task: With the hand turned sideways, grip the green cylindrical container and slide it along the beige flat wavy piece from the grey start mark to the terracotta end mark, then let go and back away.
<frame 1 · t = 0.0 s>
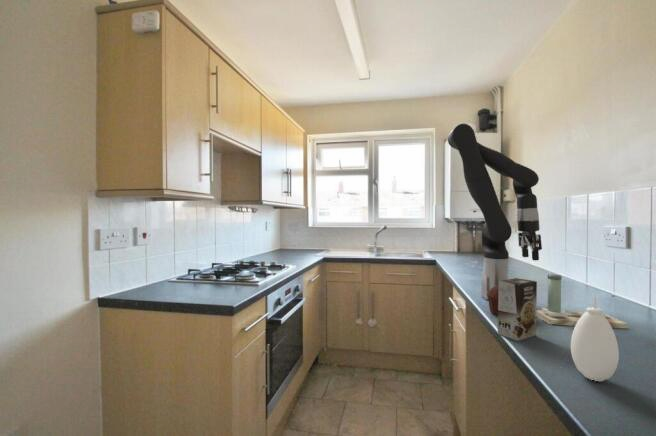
hand: (530, 258, 126), 17 cm above the countertop, tool pointing down, fingers open, 8 cm apart
coffee box: (517, 335, 91), on the countertop
beige flat wavy piece: (577, 320, 102), on the countertop
muffin: (504, 315, 109), on the countertop
green cylindrical container: (554, 294, 103), point 8 cm above the countertop, slide at -7.0 cm
sauce bottle: (593, 380, 66), on the countertop
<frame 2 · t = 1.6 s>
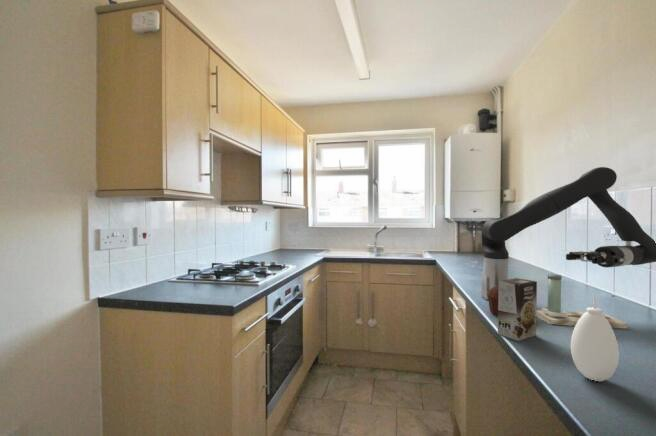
hand: (579, 258, 106), 20 cm above the countertop, tool horizontal, fingers open, 8 cm apart
nothing on the countertop moved.
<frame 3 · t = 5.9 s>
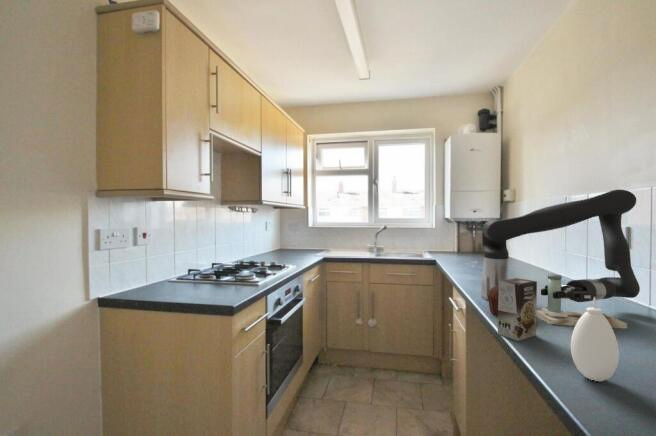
hand: (548, 293, 102), 9 cm above the countertop, tool horizontal, fingers closed on green cylindrical container, 3 cm apart
green cylindrical container: (554, 294, 103), point 9 cm above the countertop, slide at -7.0 cm, touching gripper
everything else where it was.
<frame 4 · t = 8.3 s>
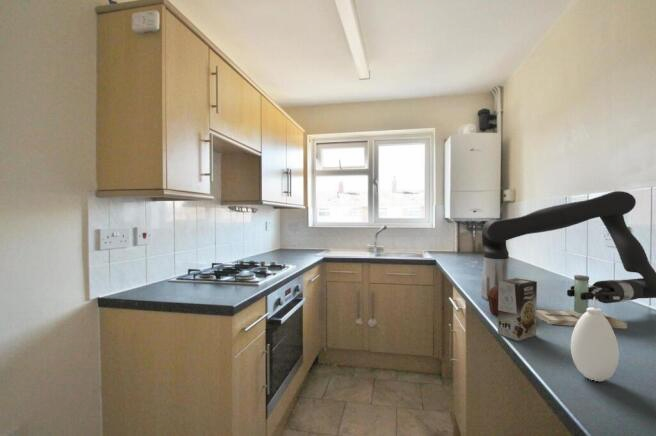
hand: (575, 294, 101), 9 cm above the countertop, tool horizontal, fingers closed on green cylindrical container, 3 cm apart
green cylindrical container: (581, 295, 102), point 9 cm above the countertop, slide at 1.1 cm, touching gripper
everything else where it was.
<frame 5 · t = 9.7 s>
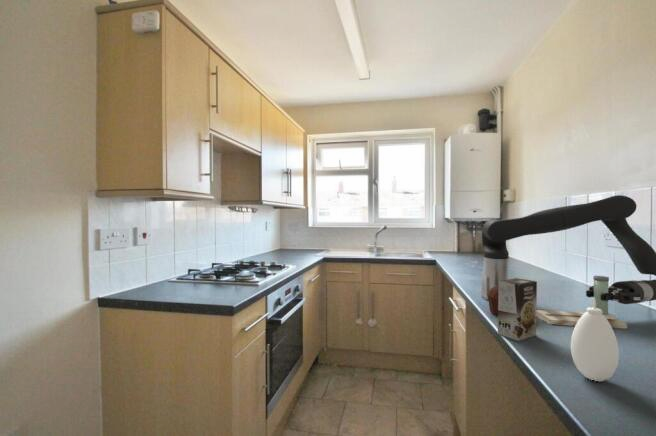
hand: (594, 295, 100), 9 cm above the countertop, tool horizontal, fingers closed on green cylindrical container, 3 cm apart
green cylindrical container: (600, 296, 101), point 9 cm above the countertop, slide at 6.9 cm, touching gripper
everything else where it was.
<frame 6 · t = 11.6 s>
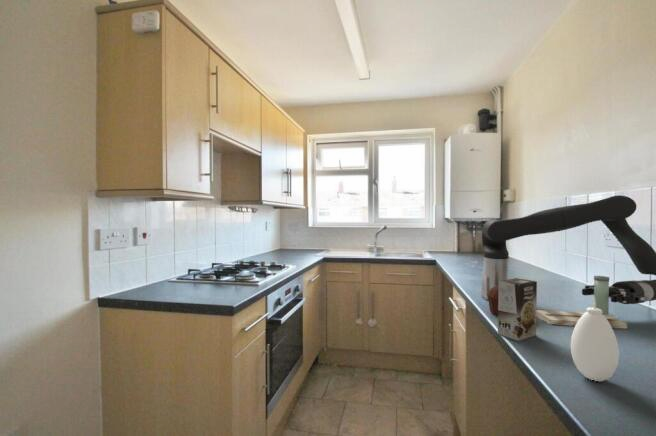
hand: (597, 295, 100), 9 cm above the countertop, tool horizontal, fingers open, 8 cm apart
green cylindrical container: (601, 296, 101), point 9 cm above the countertop, slide at 7.0 cm
everything else where it was.
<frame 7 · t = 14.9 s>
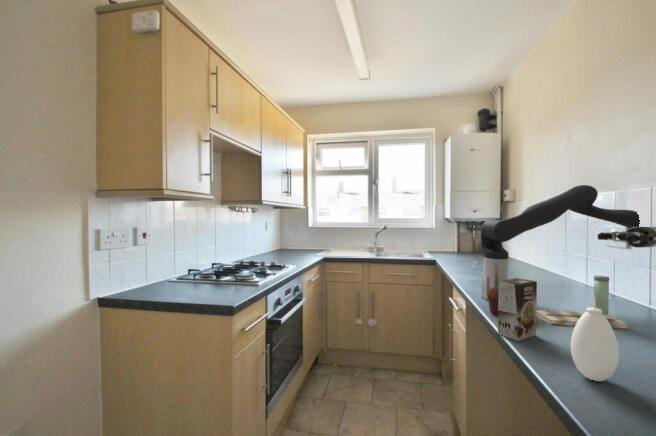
hand: (612, 237, 107), 27 cm above the countertop, tool horizontal, fingers open, 8 cm apart
nothing on the countertop moved.
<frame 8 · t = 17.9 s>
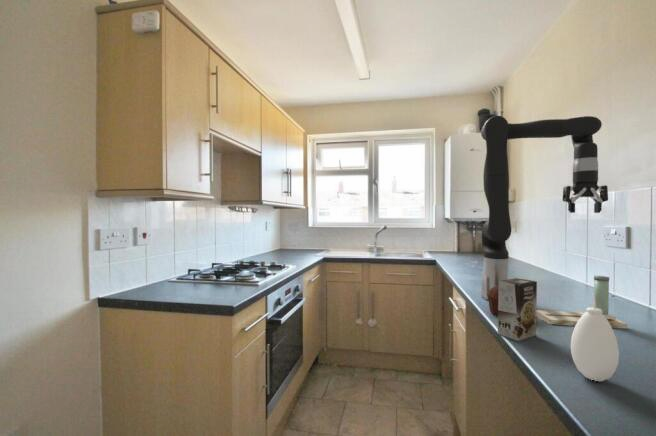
hand: (584, 212, 118), 36 cm above the countertop, tool pointing down, fingers open, 8 cm apart
nothing on the countertop moved.
at the end: green cylindrical container slide at 7.0 cm; the gripper is holding nothing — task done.
